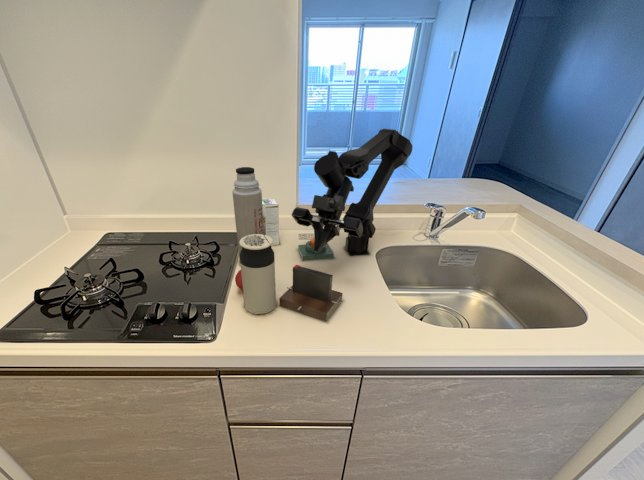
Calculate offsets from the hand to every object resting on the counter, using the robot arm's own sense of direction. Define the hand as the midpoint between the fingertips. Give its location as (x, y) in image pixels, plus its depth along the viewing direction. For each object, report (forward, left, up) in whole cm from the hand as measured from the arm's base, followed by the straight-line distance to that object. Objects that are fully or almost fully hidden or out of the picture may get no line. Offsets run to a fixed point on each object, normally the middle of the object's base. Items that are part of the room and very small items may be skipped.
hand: (316, 251), depth 84 cm
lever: (+3, +8, -8) cm, 12 cm away
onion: (+19, 0, -11) cm, 22 cm away
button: (-4, -19, -7) cm, 21 cm away
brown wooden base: (+3, +8, -10) cm, 14 cm away
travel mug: (+16, +7, -11) cm, 20 cm away
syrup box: (+10, -30, -11) cm, 33 cm away
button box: (-4, -19, -10) cm, 22 cm away
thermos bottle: (+16, -16, -11) cm, 25 cm away
